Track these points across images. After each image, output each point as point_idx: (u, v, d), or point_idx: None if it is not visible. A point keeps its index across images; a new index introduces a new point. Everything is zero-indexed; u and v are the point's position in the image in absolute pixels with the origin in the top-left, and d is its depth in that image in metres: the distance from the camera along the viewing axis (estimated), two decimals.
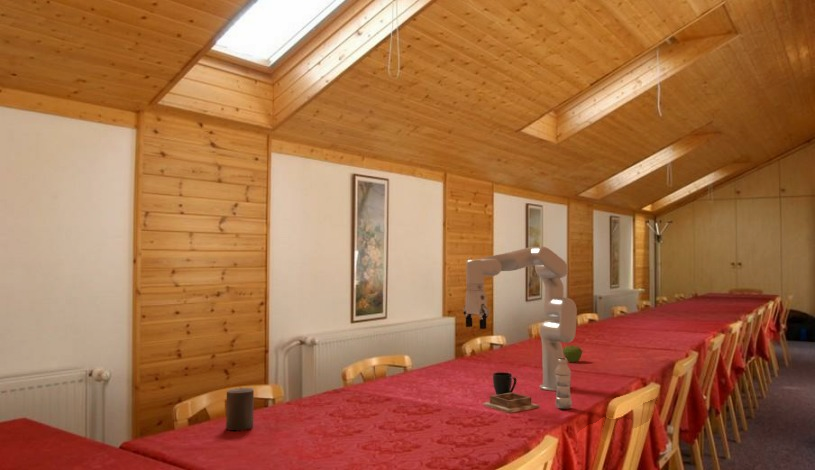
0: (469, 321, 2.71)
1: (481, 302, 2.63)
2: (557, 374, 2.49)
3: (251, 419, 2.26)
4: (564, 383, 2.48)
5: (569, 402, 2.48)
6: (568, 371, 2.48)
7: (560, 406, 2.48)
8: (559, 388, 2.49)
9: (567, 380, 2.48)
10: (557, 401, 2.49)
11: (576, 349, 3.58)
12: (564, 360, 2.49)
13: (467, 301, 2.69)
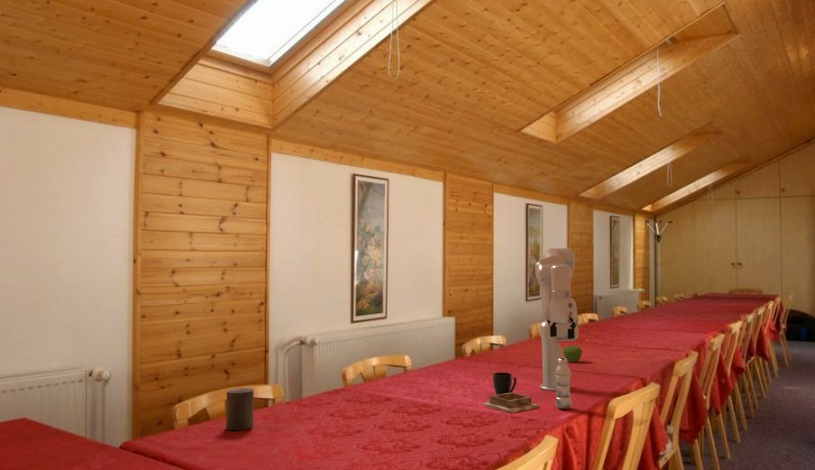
0: (553, 330, 2.55)
1: (569, 310, 2.47)
2: (557, 374, 2.49)
3: (251, 419, 2.26)
4: (564, 383, 2.48)
5: (569, 402, 2.48)
6: (568, 371, 2.48)
7: (560, 406, 2.48)
8: (559, 388, 2.49)
9: (567, 380, 2.48)
10: (557, 401, 2.49)
11: (576, 349, 3.58)
12: (564, 360, 2.49)
13: (552, 309, 2.53)
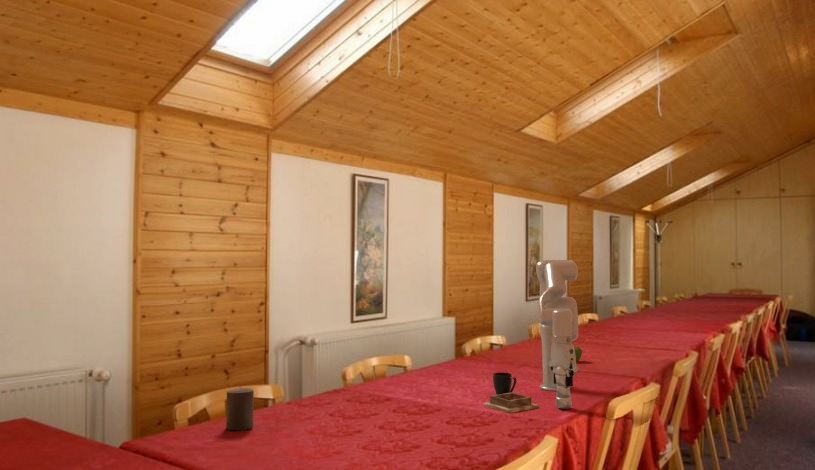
0: None
1: (571, 356, 2.47)
2: (557, 374, 2.49)
3: (251, 419, 2.26)
4: (564, 382, 2.48)
5: (569, 402, 2.48)
6: None
7: (560, 406, 2.48)
8: (559, 388, 2.49)
9: None
10: (557, 401, 2.49)
11: (576, 349, 3.58)
12: None
13: (553, 354, 2.52)
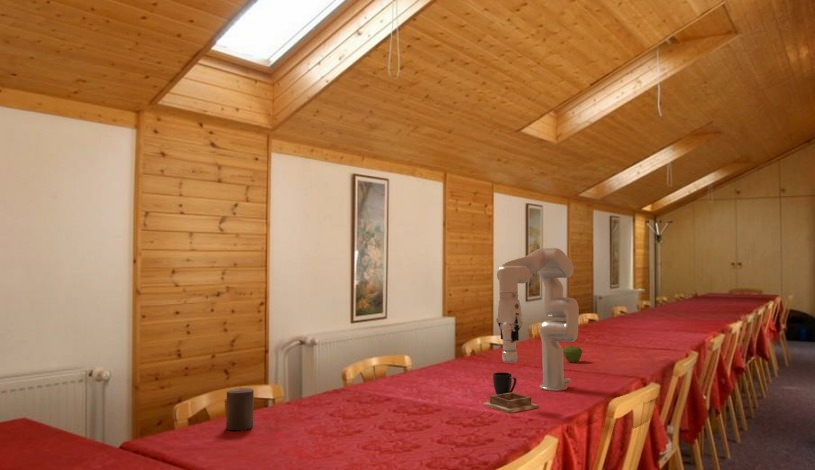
0: None
1: (516, 311, 2.52)
2: (503, 329, 2.55)
3: (251, 419, 2.26)
4: (510, 337, 2.54)
5: (515, 356, 2.53)
6: None
7: (506, 360, 2.54)
8: (505, 343, 2.55)
9: None
10: (503, 355, 2.55)
11: (576, 349, 3.58)
12: None
13: (500, 310, 2.58)
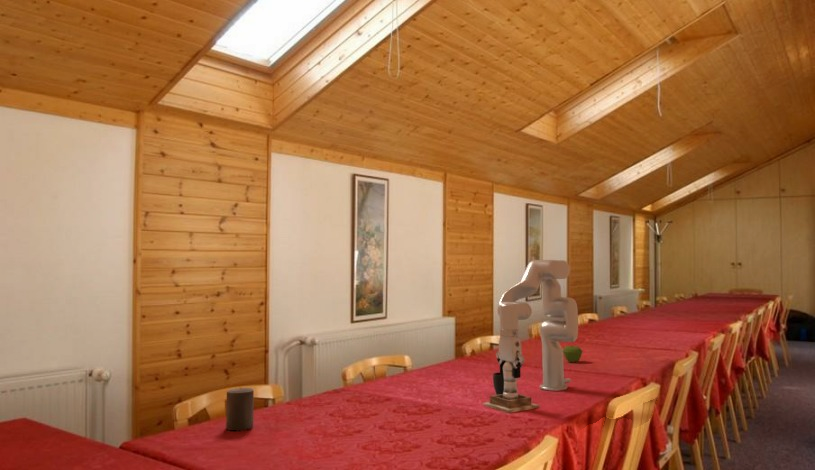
0: None
1: (516, 349, 2.52)
2: (504, 370, 2.54)
3: (251, 419, 2.26)
4: (511, 378, 2.53)
5: (515, 397, 2.53)
6: None
7: None
8: (506, 383, 2.54)
9: None
10: (504, 396, 2.54)
11: (576, 349, 3.58)
12: None
13: (501, 347, 2.57)
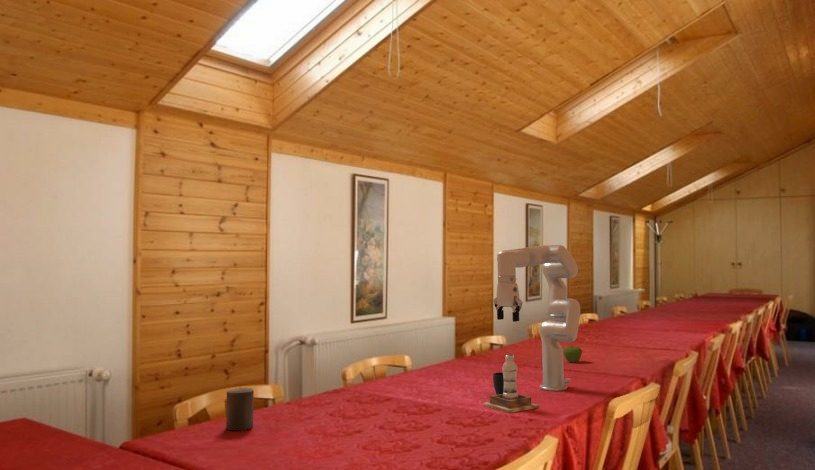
0: (500, 314, 2.67)
1: (514, 294, 2.59)
2: (504, 370, 2.54)
3: (251, 419, 2.26)
4: (511, 378, 2.53)
5: (515, 397, 2.53)
6: (514, 367, 2.53)
7: None
8: (506, 384, 2.54)
9: (513, 376, 2.53)
10: (504, 396, 2.54)
11: (576, 349, 3.58)
12: (511, 356, 2.54)
13: (499, 293, 2.65)
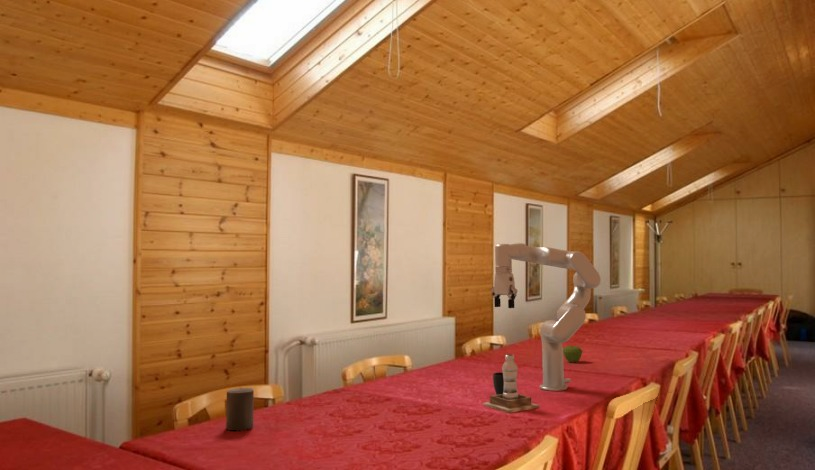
0: (497, 301, 2.90)
1: (510, 283, 2.83)
2: (504, 370, 2.54)
3: (251, 419, 2.26)
4: (511, 378, 2.53)
5: (515, 397, 2.53)
6: (514, 367, 2.53)
7: None
8: (506, 384, 2.54)
9: (513, 376, 2.53)
10: (504, 396, 2.54)
11: (576, 349, 3.58)
12: (511, 356, 2.54)
13: (496, 283, 2.88)
